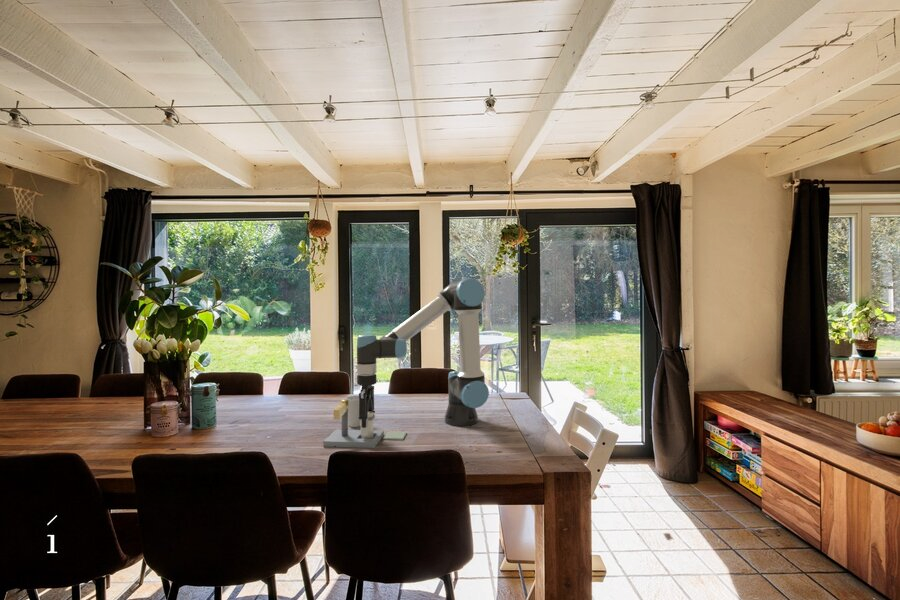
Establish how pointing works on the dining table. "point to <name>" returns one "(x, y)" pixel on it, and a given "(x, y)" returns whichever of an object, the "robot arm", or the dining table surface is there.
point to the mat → (394, 435)
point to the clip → (341, 408)
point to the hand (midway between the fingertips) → (367, 432)
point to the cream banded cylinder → (369, 426)
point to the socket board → (351, 437)
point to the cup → (353, 411)
